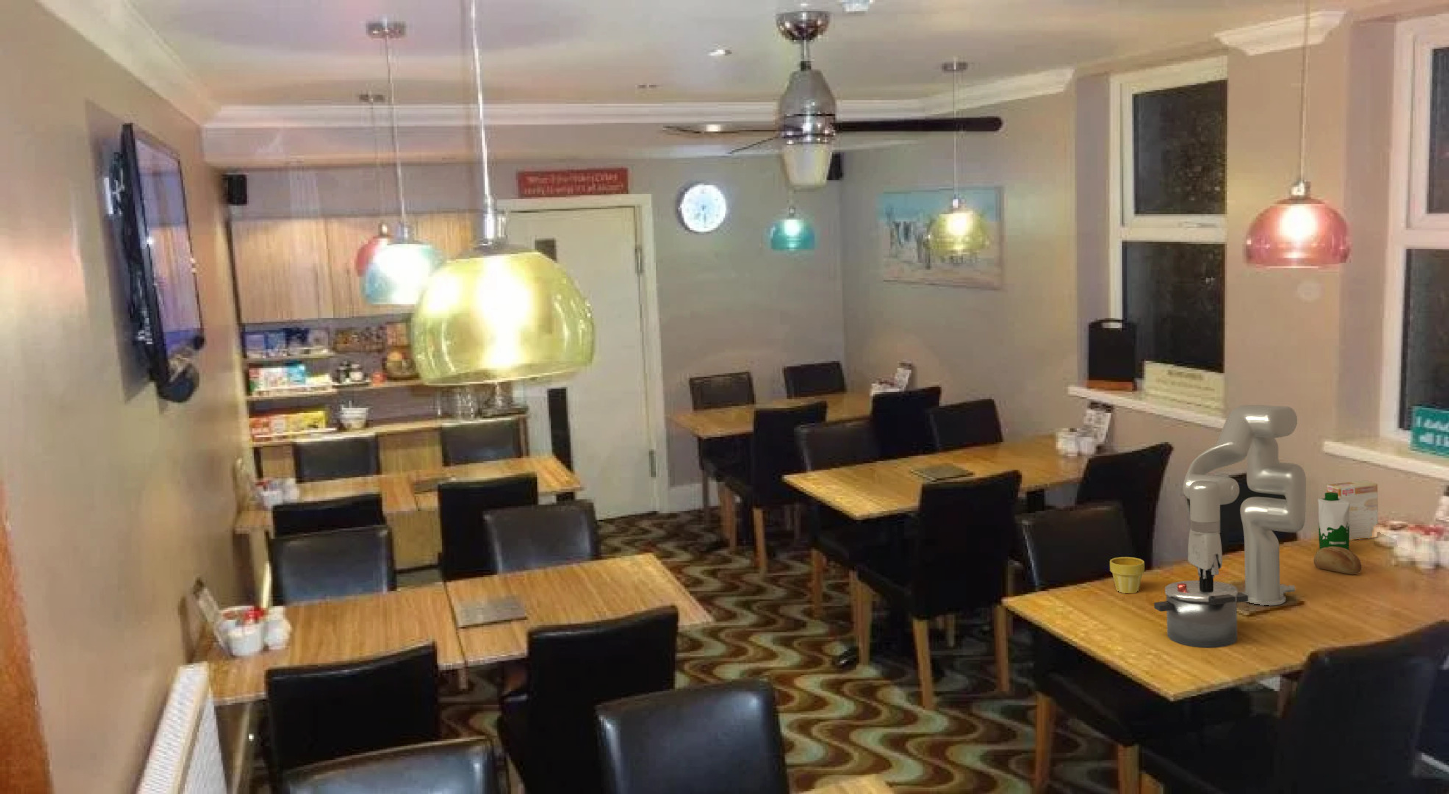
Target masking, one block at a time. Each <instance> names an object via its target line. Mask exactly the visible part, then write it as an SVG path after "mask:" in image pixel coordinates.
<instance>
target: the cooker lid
mask: <svg viewBox="0 0 1449 794" xmlns="http://www.w3.org/2000/svg"><path fill="white" fill-rule="evenodd" d="M1213 588H1214V590H1213V592H1202V591H1200V588H1199V580H1183V581H1177V582H1176V581H1175V582H1171V583H1170V584H1168V585H1166V586H1165V587H1164V592H1165V596H1166V595H1168V596H1169V597H1172V598H1175V599H1179V600H1185V601H1195V602H1211V603H1213V604H1220V603H1229V602H1235V597H1236V596H1237V595H1238V593H1239V592H1238V588H1237V587H1236V586H1235V585H1233V584H1231V583H1226V582H1221V581H1214V580H1213Z"/></svg>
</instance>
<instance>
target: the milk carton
mask: <svg viewBox="0 0 1449 794" xmlns="http://www.w3.org/2000/svg"><path fill="white" fill-rule="evenodd" d="M1317 502H1318V503H1317V504H1318V544H1319V550H1320V549H1321V548H1324V547H1326V548H1328V547H1341V548H1345V549H1347V550H1350V541H1349V509H1350V503H1349V502H1347V501H1346V500H1344V499H1342V498H1338V493H1333V492H1328V493H1327V492H1325V493H1324V498H1317Z"/></svg>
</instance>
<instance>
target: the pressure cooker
mask: <svg viewBox="0 0 1449 794" xmlns="http://www.w3.org/2000/svg"><path fill="white" fill-rule="evenodd" d="M1165 596H1166V600H1165V601H1158V602H1156V601H1155V602H1153V607H1154V609H1155V610H1157V611H1159V612H1166V632H1167V634H1166V635H1167V638H1168V639H1170V640H1171V641H1172V642H1175V643H1177V644H1180V645H1183V646H1187V647H1192V648H1193V647H1194V648H1203V649H1205V648H1206V649H1213V648H1214V649H1215V648H1222V647H1223V648H1224V647H1228V646H1232V645H1233V644H1235V643H1237V641H1238V609H1237V608H1238V607H1237V606H1238V605H1237V603H1246V601H1248V595H1246V594H1243V593H1242V592H1238V595H1237V596H1236V597H1235V602H1229V603H1220V604H1213V603H1211V602H1195V601H1185V600H1179V599H1175V598H1172V597H1169V596H1168V595H1166V594H1165Z"/></svg>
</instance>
